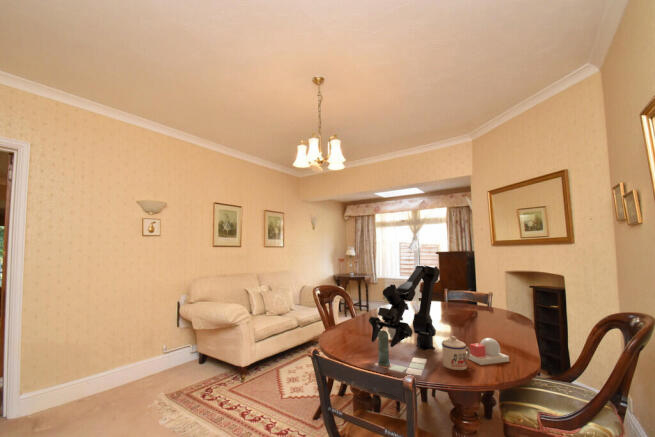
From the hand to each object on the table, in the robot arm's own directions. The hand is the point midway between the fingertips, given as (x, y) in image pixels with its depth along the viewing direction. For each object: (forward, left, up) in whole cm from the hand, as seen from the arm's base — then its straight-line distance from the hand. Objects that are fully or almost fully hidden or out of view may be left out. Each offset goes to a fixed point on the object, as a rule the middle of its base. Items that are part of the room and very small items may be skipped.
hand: (381, 344), depth 120 cm
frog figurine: (-22, -32, -9) cm, 40 cm away
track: (-9, +4, -9) cm, 13 cm away
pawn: (-1, -1, -8) cm, 8 cm away
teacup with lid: (-29, +8, -9) cm, 31 cm away
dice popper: (-46, +4, -9) cm, 47 cm away
